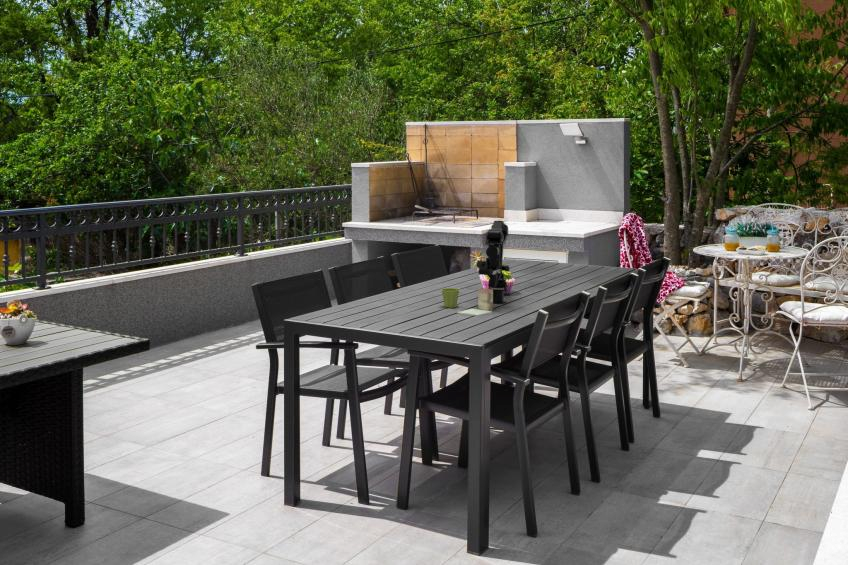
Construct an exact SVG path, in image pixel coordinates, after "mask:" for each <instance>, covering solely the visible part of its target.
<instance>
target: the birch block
mask: <svg viewBox="0 0 848 565" xmlns="http://www.w3.org/2000/svg"><path fill="white" fill-rule="evenodd" d="M477 294H478V300H477V301H478V303H477V305H478V306H477V307H478V308H477V309H478V310H485V311H494V307H493V306H494V303H493V290H491V289H489V288H481V289H478V292H477Z"/></svg>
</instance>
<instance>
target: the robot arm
mask: <svg viewBox="0 0 848 565" xmlns="http://www.w3.org/2000/svg"><path fill="white" fill-rule="evenodd" d="M508 236H509V226H508V225H507V224H505V221H503V220H493V224H492V225H491V228H489V229H488V230H487V232H486V236H485V245H487V246H488V247H487V248H486V250H485V254H486V256H487V257H485V258H486V259H485V260H484V261H483V260H477V261H476V268H478V275H484V276H488V289H491V290H493V304H504V303H506V302H507V301H506V300H505V299H504V292H507V291H508V282H507V280H506V279H505V275H504V273H503V271H505V272H510V266H509V265H507V264H504V263H503V260H504V259H503V258H504V245H505V244H506V242H507V240H508Z"/></svg>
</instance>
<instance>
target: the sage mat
mask: <svg viewBox="0 0 848 565" xmlns="http://www.w3.org/2000/svg"><path fill="white" fill-rule="evenodd" d="M456 313H457V314H462V315H468V316H475V317H478V316H483V315H484V316H485V315H488V314H491V313H493V310H491V311H485V310H478V308H469V309H464V310H461V311H460V310H459V311H456Z"/></svg>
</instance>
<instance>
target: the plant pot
mask: <svg viewBox="0 0 848 565" xmlns="http://www.w3.org/2000/svg"><path fill="white" fill-rule="evenodd" d="M440 291H441V294H442V299H443V306H444V308H449V309H451V308H457V307H458V299H459V294H460V291H461V289H460V288H457V287H456V288H454V287H453V288H452V287H451V288H450V287H448V288H447V287H446V288H445V287H444V288H441V289H440Z"/></svg>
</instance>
